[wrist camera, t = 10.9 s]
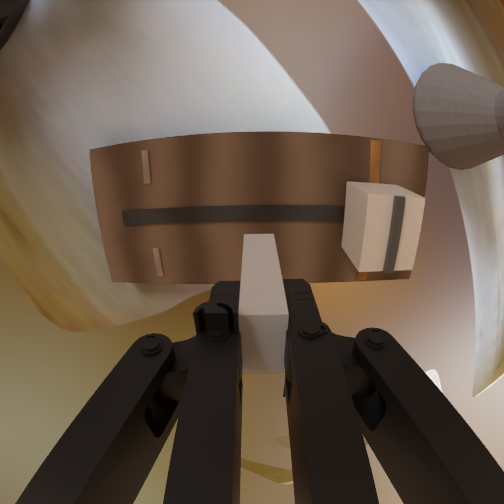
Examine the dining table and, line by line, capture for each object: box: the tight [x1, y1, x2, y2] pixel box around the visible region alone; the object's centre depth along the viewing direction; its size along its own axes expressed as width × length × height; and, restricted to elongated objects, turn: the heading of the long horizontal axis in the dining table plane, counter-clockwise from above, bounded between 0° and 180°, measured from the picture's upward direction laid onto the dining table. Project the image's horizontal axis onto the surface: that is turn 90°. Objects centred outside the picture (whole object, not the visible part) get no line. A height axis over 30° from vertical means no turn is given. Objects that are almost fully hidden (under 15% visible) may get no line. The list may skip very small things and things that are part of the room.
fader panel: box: [90, 132, 429, 284], centre depth 25 cm, size 32×14×3 cm, turn 91°
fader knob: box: [341, 181, 425, 274], centre depth 21 cm, size 5×6×5 cm
